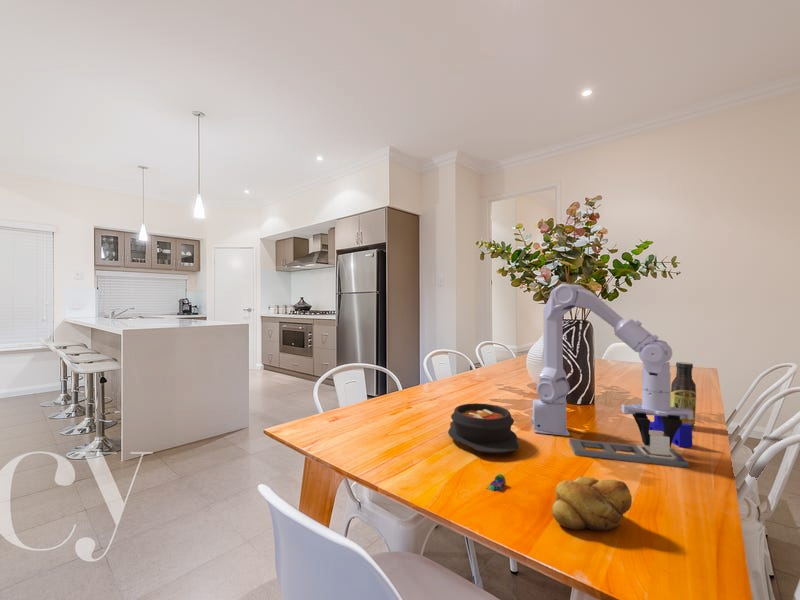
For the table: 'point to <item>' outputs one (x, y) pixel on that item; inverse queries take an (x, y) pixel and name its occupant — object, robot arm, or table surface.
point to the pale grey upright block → (658, 444)
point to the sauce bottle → (684, 391)
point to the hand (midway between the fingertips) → (656, 444)
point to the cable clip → (681, 436)
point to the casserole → (483, 428)
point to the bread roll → (591, 503)
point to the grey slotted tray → (636, 449)
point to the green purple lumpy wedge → (497, 483)
